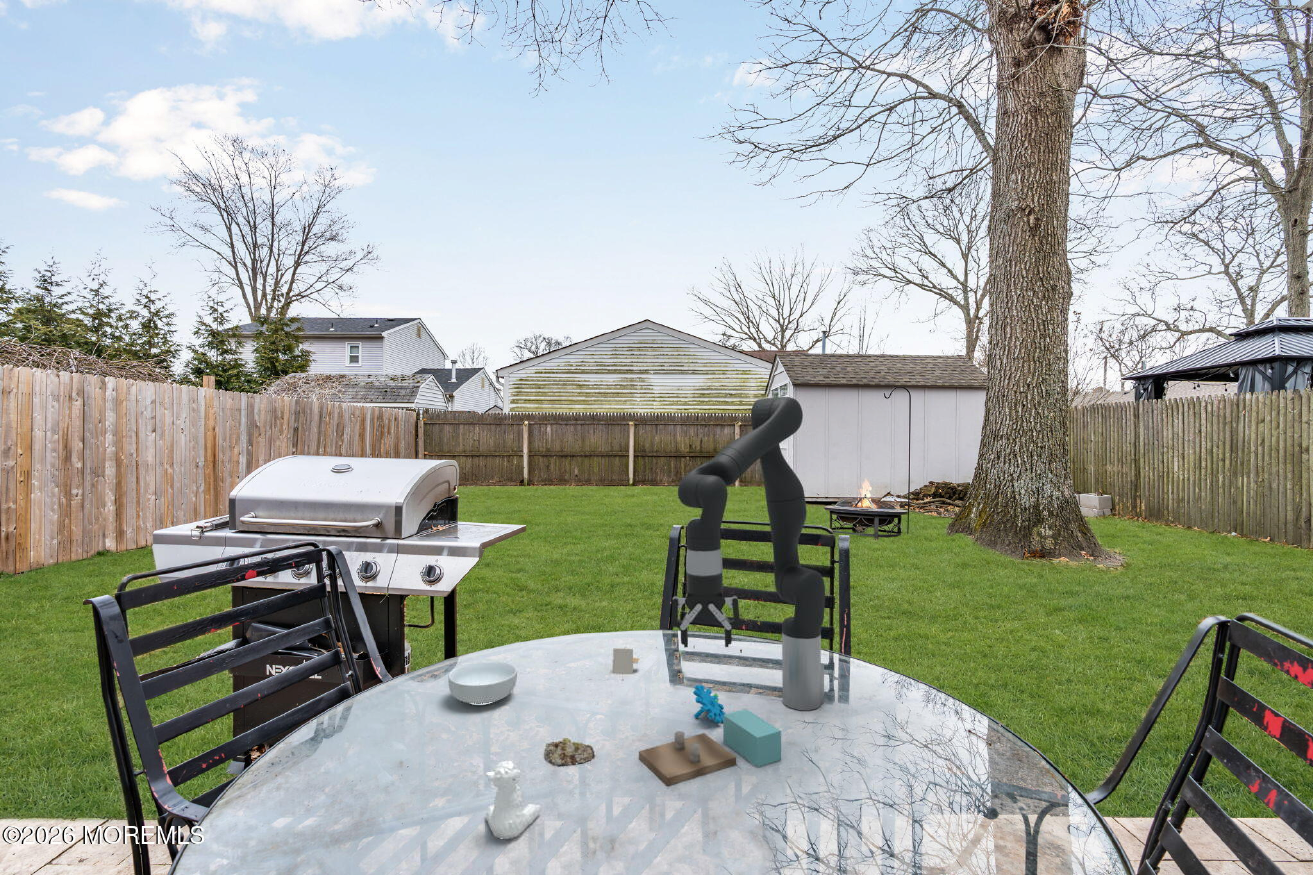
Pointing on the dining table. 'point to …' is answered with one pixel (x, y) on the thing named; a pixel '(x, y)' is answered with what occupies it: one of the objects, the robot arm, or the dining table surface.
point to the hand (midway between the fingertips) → (706, 646)
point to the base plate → (686, 758)
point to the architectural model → (623, 661)
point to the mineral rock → (568, 752)
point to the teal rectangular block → (752, 737)
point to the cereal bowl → (482, 681)
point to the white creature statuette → (508, 803)
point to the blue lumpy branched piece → (708, 704)
